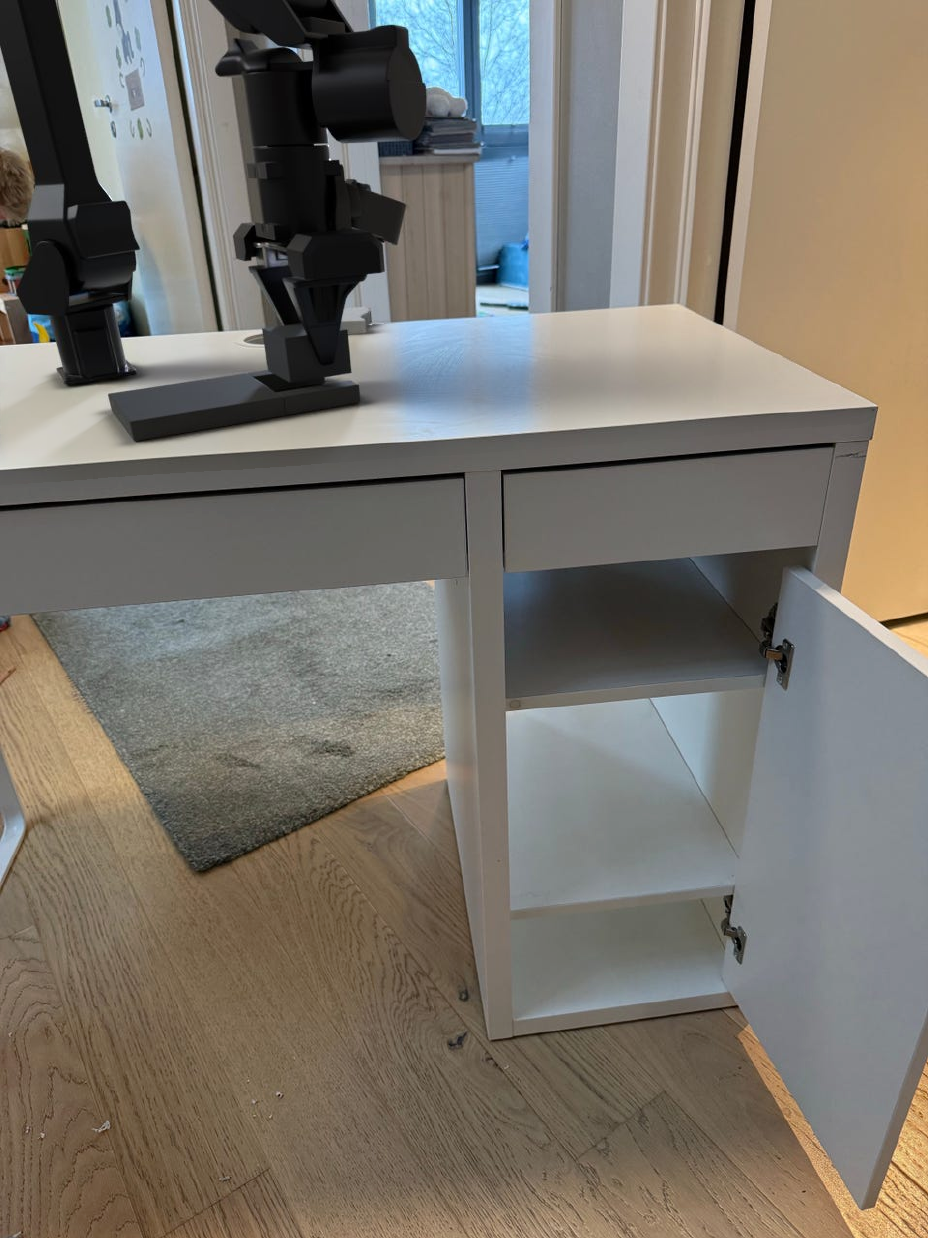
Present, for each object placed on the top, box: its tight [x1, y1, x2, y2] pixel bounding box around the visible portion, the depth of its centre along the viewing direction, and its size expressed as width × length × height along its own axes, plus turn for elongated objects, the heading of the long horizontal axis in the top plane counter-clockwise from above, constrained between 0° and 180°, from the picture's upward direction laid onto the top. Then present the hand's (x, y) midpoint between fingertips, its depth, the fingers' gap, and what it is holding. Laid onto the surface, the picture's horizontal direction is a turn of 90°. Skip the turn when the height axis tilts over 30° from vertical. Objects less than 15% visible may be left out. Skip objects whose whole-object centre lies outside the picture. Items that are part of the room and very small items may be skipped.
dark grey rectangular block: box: [261, 323, 352, 383], centre depth 71 cm, size 5×5×4 cm
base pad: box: [107, 369, 362, 442], centre depth 70 cm, size 10×18×2 cm, turn 119°
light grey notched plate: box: [341, 306, 373, 335], centre depth 100 cm, size 6×1×10 cm
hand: (315, 358), depth 72 cm, fingers closed on dark grey rectangular block, 5 cm apart
